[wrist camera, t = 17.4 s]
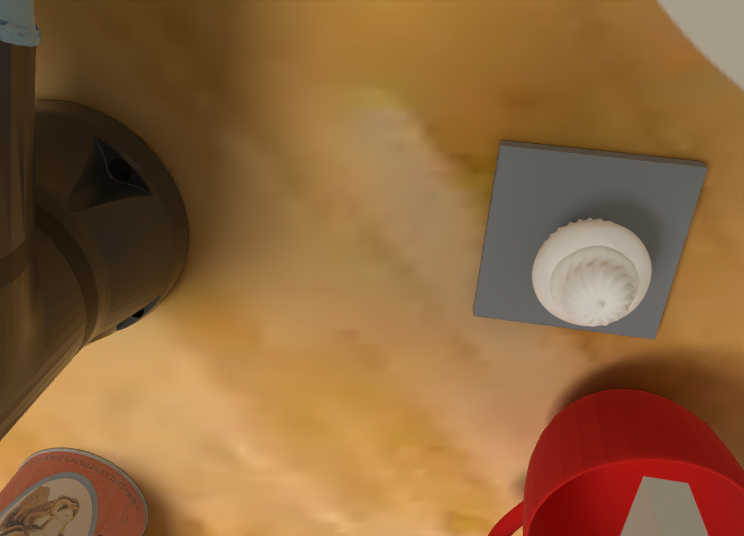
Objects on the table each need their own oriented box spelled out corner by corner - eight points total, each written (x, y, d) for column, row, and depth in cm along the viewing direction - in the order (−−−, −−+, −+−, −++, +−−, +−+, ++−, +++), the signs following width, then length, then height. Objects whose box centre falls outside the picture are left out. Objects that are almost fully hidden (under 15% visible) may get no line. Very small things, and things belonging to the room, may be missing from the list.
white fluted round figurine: (508, 229, 41) (513, 287, 34) (607, 176, 38) (631, 228, 32) (560, 309, 43) (573, 378, 36) (657, 262, 40) (688, 327, 34)
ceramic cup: (431, 426, 49) (420, 539, 41) (657, 314, 43) (703, 419, 34) (529, 541, 53) (539, 668, 44) (751, 454, 47) (814, 582, 38)
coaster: (473, 307, 44) (473, 316, 44) (500, 139, 39) (500, 145, 38) (651, 330, 44) (654, 339, 43) (702, 161, 38) (707, 167, 37)
